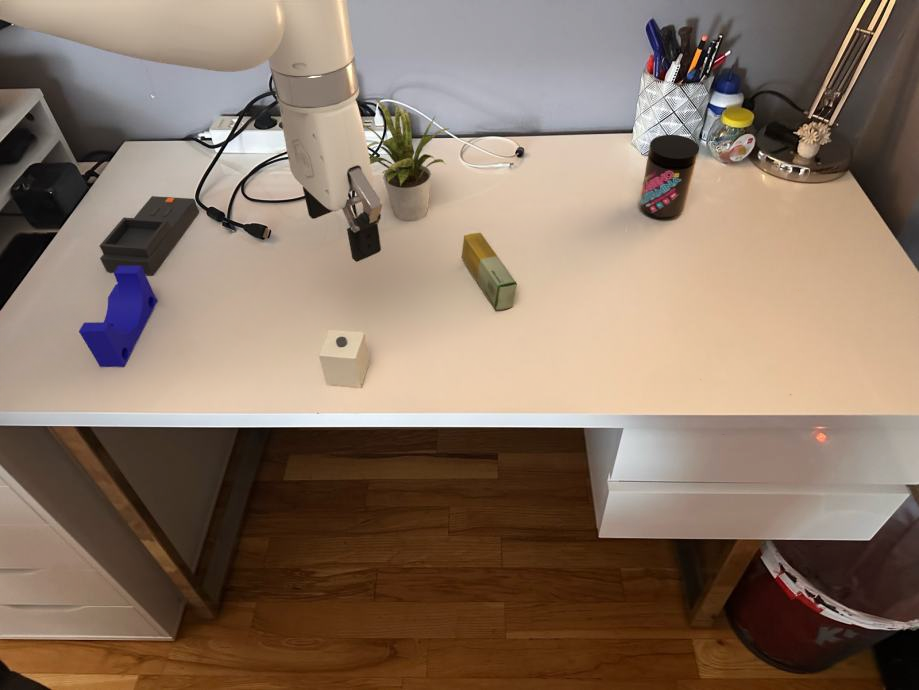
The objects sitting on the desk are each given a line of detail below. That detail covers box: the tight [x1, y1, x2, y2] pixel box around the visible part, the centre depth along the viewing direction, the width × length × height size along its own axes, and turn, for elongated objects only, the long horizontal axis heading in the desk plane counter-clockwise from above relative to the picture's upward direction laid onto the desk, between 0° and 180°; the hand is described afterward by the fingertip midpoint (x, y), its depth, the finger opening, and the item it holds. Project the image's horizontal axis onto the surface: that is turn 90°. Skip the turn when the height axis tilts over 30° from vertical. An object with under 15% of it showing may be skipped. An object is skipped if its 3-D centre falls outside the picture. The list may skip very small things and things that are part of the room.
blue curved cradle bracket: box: [78, 266, 158, 368], centre depth 84 cm, size 12×4×6 cm, turn 179°
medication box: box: [461, 232, 518, 312], centre depth 89 cm, size 12×3×4 cm, turn 22°
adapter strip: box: [99, 195, 200, 276], centre depth 98 cm, size 7×16×4 cm, turn 172°
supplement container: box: [638, 134, 700, 221], centre depth 98 cm, size 7×7×10 cm
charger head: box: [318, 329, 370, 389], centre depth 78 cm, size 4×4×6 cm
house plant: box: [363, 98, 449, 222], centre depth 98 cm, size 14×14×16 cm
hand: (344, 233), depth 73 cm, fingers open, 9 cm apart
